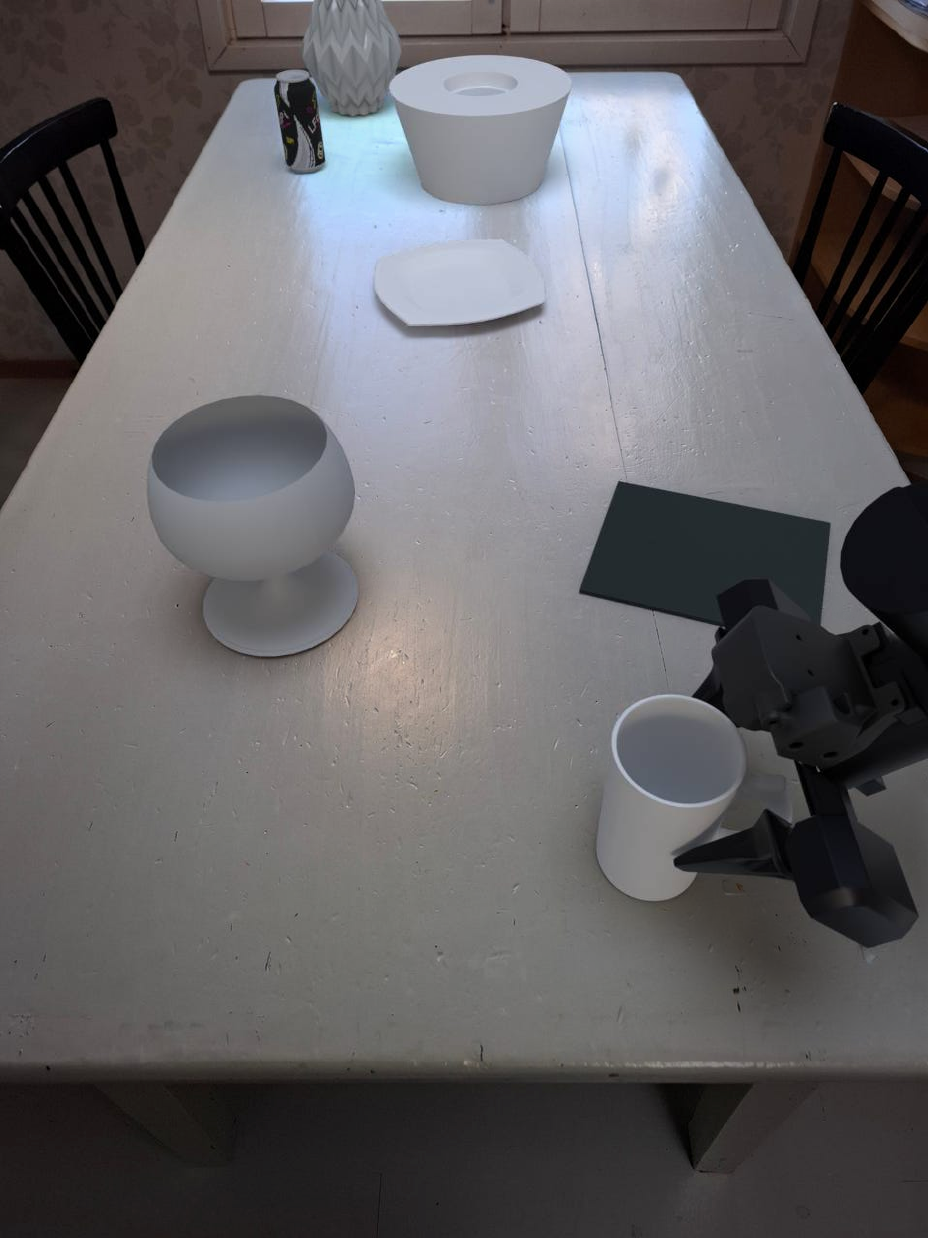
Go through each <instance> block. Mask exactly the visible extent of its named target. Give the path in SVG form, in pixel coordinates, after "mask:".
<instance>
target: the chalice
mask: <svg viewBox="0 0 928 1238" xmlns="http://www.w3.org/2000/svg"><path fill="white" fill-rule="evenodd" d="M149 457H150V458H149V461H148V465H147V469H146V471H147V472H146V497H147V506H148V511H149V516H150V520H151V523H152V525H153V527H154V530H155V532H156V533H155V534H157V537H158V539H159V541H160V543H161V544H162V545H163V546H164V548H165V549H166V550H167V551H168V552H169V553H170V554H171V555H172V556H173V557H174V558H175V559H176V560H178V561H179V562H181V563H182V564H183V565H185V567H188V568H189V569H191V570H193V571H196V572H199V573H201V574H203V575H206V576H209V577H212V578H213V580H211V581H212V582H211V583H210V585H209V586H208V588H207V589H206V592H205V595H204V598H203V602H202V615H203V619H204V623H205V626H206V628H207V629H208V630H209V632H210V634H211V635H212V636H213V637H214V638H215V639H216V640H217V641H218V642H219V643H221V644H222V645H223V646H225V647H226V648H229V649H231V650H233V651H236V652H238V653H241V654H246V655H250V656H255V657H280V656H287V655H294V654H296V653H301V652H302V651H306V650H309V649H311V648H313V647H315V646H317V645H319V644H321V643H323V642H324V641H327V640H328V639H330V638H331V637H332V636H333V635H335V634H336V633H337V632H338V631H340V629H342V628H343V626H344V625H345V624H346V623H347V622H348V620H349V619H350V618H351V617H352V614H353V612H354V610H355V608H356V606H357V603H358V598H359V593H360V591H359V584H358V578H357V576H356V574H355V572H354V570H353V568H352V567H351V565H349V563H348V562H347V561H346V560H345V559H344V558H343V557H341V556H340V555H338V554H336V553H335V552H334V551H332V550H330V548H331V547H333V545H334V544H335V543H336V542H337V540H338V539H339V538H340V537H341V536H342V535H343V534H344V532H345V530H346V528H347V525H348V524H349V522H350V519H351V517H352V514H353V510H354V507H355V498H356V488H355V480H354V476H353V472H352V469H351V466H350V462H349V459H348V457H347V454H346V452H345V450H344V448H343V446H342V444H341V442H340V440H339V439H338V438H337V436H336V434H335V433H334V432H333V430H332V428H330V426H329V424H327V422H325V420H324V419H323V418H322V417H321V416H320V415H319V414H317V413H316V412H315V411H313V410H312V409H311V408H310V407H308V406H307V405H304V404H302V403H300V402H297V401H295V400H293V399H289V398H285V397H282V396H281V397H280V396H275V395H262V394H254V395H239V396H233V397H227V398H221V399H218V400H215V401H212V402H209V403H205V404H204V405H201V406H199V407H197V408H195V409H192V410H190V411H188V412H186V413H185V414H184V415H182V416H180V417H179V418H177V419H176V420H174V421H173V422H172V423H171V424H170V425H169V426H167V428H166V429H164V431H162V433H161V435H160V436H159V437H158V439H157V440H156V442H155V443H154V446H153V449H152V452H151V454H150V456H149Z"/></svg>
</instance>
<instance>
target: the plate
mask: <svg viewBox="0 0 928 1238" xmlns="http://www.w3.org/2000/svg"><path fill="white" fill-rule="evenodd" d="M373 288H374V291H375V294H376V296H377V297H378V299H379V300H380V302H381V303H382V304H383V305H384V306H385V308H386V309H388V311H390V313H392V314H393V315H395V317H397V318H398V319H399V320H400V321H401V322H403V323H404V324H406V325H407V326H408V327H430V326H431V327H432V326H456V325H457V326H458V325H467V324H477V323H483V322H488V321H492V320H496V319H497V320H498V319H500V318H504V317H508V316H511V315H514V314H518V313H521V312H523V311H526V310H529V309H532V308H535V307H537V306H540V305H542V304H545V303H546V301H547V293H546V292H547V291H546V283H545V279H544V276H543V272H542V271H541V269H540V267H539V266H538V265H537V264H536V262H535V261H533V259H532V258H530V257H529V256H528V255H527V254H526V253H525V252H523V251H521V250H520V249H519V248H517V247H516V246H514V245H512V244H511V243H509V242H507V241H506V240H504V239H502V238H496V239H495V238H490V239H489V238H484V239H459V240H447V241H438V242H431V243H427V244H423V245H419V246H414V247H411V248H406V249H403V250H400V251H397V252H394V253H390V254H387V255H383V256H382V257H379V258H376V261H375V265H374V272H373Z"/></svg>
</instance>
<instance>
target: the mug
mask: <svg viewBox="0 0 928 1238" xmlns="http://www.w3.org/2000/svg"><path fill="white" fill-rule="evenodd" d="M610 739H611V741H610V749H609V755H608V762H607V769H606V775H605V781H604V782H605V783H604V788H603V796H602V803H601V809H600V813H599V814H600V815H599V821H598V829H597V835H596V844H595V848H596V849H595V852H596V857H597V861H598V864H599V867H600V869H601V871H602V873H603V874H604V876H605V877H606V879H607V880H608V882H610V883H611V884H612V886H613V887H615V888H616V889H618V890H619V891H620V892H622V893H623V894H624V895H627V896H629V897H631V898H634V899H637V900H641V901H645V902H646V901H647V902H662V901H667V900H670V899H674V898H675V897H677V896H679V895H681V894H682V893H683V892H684V891H686V890H687V889H688V888H689V887H690V886H691V884H692V883H693V882H694V880H695V878H696V876H697V874H698V873H696V872H684V871H682V870H680V869H678V868H676V867H674V863H673V859H674V858H676V857H677V856H679V855H681V854H683V853H685V852H687V851H688V850H690V849H692V848H695V847H698V846H700V845H703V844H706V843H709V842H712V841H715V840H717V839H720V838H723V837H726V836H729V835H731V834H734V833H737V832H740V831H741V830H731V829H727V828H723V827H721V825H722V824H723V821H724V819H725V817H726V815H727V813H728V811H729V809H730V807H731V805H732V803H733V802H734V801H735V800H738V799H754V800H757V801H760V802H762V803H764V804H765V805H766V806H768V809H769V810H770V811H772V812H774V813H775V814H777V815H778V816H780V817H782V818H783V819H785V820H786V821H788V822H789V823H791V824H792V822H793V814H794V810H793V803H792V800H791V797H790V794H789V791H788V789H787V786H788V785H787V783H788V782H787V777H786V776H785V775H783V774H775V773H769V772H763V773H761V774H753V773H750V772H748V771H747V770H748V764H749V755H748V749H747V745H746V742H745V740H744V738H743V736H742V734H741V732H740V730H739V728H736V726H735V725H734V724H733V723H732V721H731V720H730V719H729V718H728V717H727V716H726V715H724V714H723V713H722V712H721V711H719V710H718V709H716V708H715V707H713V706H711V705H710V704H708V703H706V702H703V701H701V700H698V699H695V698H692V697H691V696H689V695H688V696H687V695H682V694H672V693H671V694H669V693H668V694H667V693H665V694H657V695H656V694H655V695H652V696H648V697H645V698H643V699H640V700H638V701H636V702H634V703H632V704H631V705H630V706H629V707H627V708H626V709H625V710H624V711H623V712H622V713H621V714H620V715H619V717H618V719H617V720H616V722H615V724H614V726H613V728H612V732H611V738H610Z"/></svg>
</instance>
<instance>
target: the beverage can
mask: <svg viewBox="0 0 928 1238" xmlns="http://www.w3.org/2000/svg"><path fill="white" fill-rule="evenodd" d="M310 76H311V75H310V72H309V71H308V70H304V69H288V70H287V69H286V70H283V71H281V72H278V73H277V74H276V76H275V78H276V81H275V85H274V87H273V93H274V99H275V105H276V112H277V117H278V124H279V130H280V135H281V136H280V137H281V141H282V149H283V153H284V159H285V164H286V166H287V167H288V168H289V169H291V170H292V171H294V172H296V173H300V174H309V173H313V172H317V171H319V170H320V169H321V168H322V167H323V166H324V165H325V164H326V154H325V153H326V152H325V147H324V140H323V131H322V125H321V117H320V110H319V103H318V101H319V100H318V96H317V95H318V94H317V88H316V87H317V86H316V83H315V82H314V81H313V80H312V79H311V77H310Z"/></svg>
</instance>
